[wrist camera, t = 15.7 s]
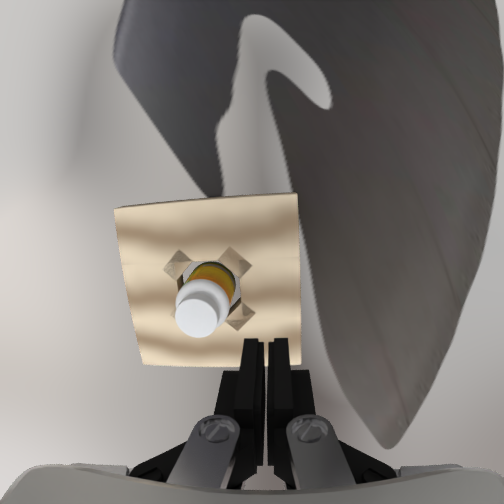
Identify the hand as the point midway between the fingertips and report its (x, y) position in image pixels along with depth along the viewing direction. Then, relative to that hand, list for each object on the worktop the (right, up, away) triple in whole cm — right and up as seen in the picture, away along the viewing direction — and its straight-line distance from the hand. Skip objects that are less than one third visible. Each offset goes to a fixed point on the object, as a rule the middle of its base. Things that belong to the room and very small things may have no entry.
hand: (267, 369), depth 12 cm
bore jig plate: (-5, +1, +26) cm, 26 cm away
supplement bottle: (-5, +1, +26) cm, 27 cm away
